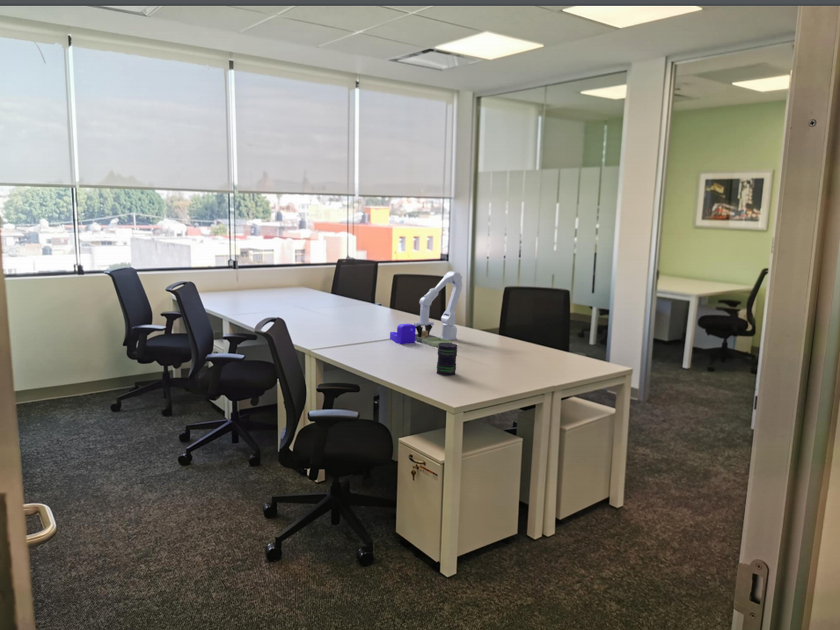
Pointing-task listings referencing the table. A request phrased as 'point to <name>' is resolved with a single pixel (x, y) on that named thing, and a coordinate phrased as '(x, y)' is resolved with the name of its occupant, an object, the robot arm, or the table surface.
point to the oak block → (424, 334)
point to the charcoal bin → (423, 338)
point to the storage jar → (446, 359)
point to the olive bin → (435, 341)
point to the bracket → (404, 334)
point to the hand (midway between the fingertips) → (423, 336)
